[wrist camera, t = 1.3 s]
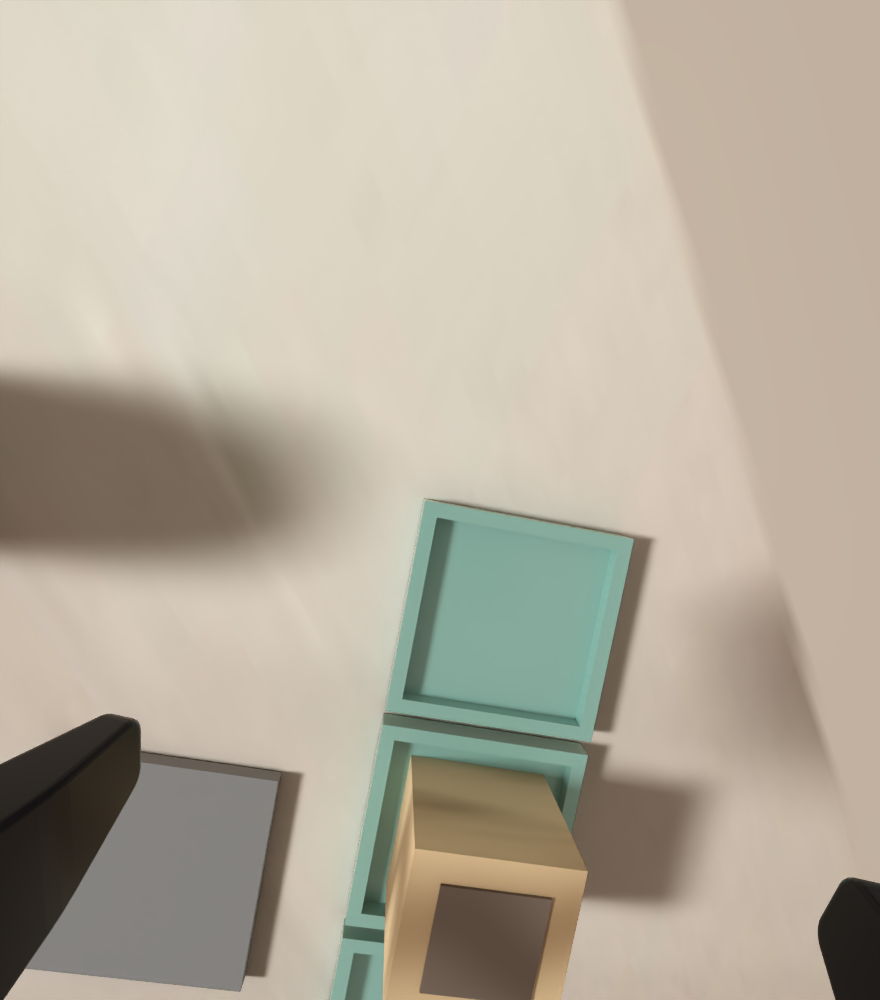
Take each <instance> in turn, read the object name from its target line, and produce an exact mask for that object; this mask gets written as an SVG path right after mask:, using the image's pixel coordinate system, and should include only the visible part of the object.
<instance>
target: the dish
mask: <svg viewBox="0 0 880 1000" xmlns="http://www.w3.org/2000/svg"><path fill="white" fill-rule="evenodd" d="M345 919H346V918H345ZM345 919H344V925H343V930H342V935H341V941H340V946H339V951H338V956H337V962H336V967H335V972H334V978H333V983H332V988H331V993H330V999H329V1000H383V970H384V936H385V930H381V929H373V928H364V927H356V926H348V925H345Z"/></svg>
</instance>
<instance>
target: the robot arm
mask: <svg viewBox="0 0 880 1000" xmlns="http://www.w3.org/2000/svg"><path fill="white" fill-rule="evenodd" d="M140 770H141V729H140V724H139V722H138V721H137V720H135V719H133V718H129V717H124V716H120V715H115V714H105V715H102V716H99V717H97V718H95V719H93V720H91V721H89V722H87V723H85V724H83V725H81V726H79V727H76V728H74V729H72V730H70V731H68V732H66V733H64V734H62V735H60V736H58V737H56V738H54V739H52V740H49V741H47V742H45V743H43V744H41V745H39V746H37V747H35V748H33V749H31V750H29V751H27V752H25V753H22V754H20V755H18V756H16V757H14V758H12V759H10V760H8V761H6V762H4V763H2V764H0V1000H4V998H5V997H6V995H7V994H8V992H9V991H10V990H11V988H12V987H13V985H14V984H15V982H16V981H17V979H18V978H19V977H20V975H21V974H22V972H23V971H24V969H25V968H26V966H27V965H28V964H29V962H30V961H31V959H32V958H33V956H34V955H35V953H36V952H37V951H38V949H39V948H40V946H41V945H42V943H43V942H44V940H45V939H46V937H47V936H48V935H49V933H50V932H51V930H52V928H53V927H54V925H55V924H56V922H57V921H58V919H59V918H60V916H61V915H62V913H63V912H64V910H65V908H66V907H67V905H68V903H69V902H70V900H71V898H72V897H73V895H74V893H75V892H76V890H77V888H78V886H79V885H80V883H81V881H82V879H83V878H84V876H85V874H86V872H87V871H88V869H89V867H90V865H91V864H92V862H93V860H94V858H95V857H96V855H97V853H98V851H99V850H100V848H101V846H102V844H103V843H104V841H105V839H106V837H107V836H108V834H109V832H110V830H111V829H112V827H113V825H114V823H115V822H116V820H117V818H118V816H119V814H120V813H121V811H122V809H123V807H124V806H125V804H126V802H127V800H128V799H129V797H130V795H131V793H132V792H133V790H134V788H135V786H136V784H137V781H138V778H139V775H140ZM818 939H819V945H820V949H821V952H822V956H823V959H824V962H825V966H826V969H827V973H828V976H829V979H830V983H831V986H832V990H833V993H834V996H835V1000H880V884H879V883H875V882H871V881H866V880H862V879H857V878H846V879H844V880H843V881H842V882H841V883H840V884H839V886H838V888H837V890H836V891H835V893H834V895H833V897H832V899H831V900H830V902H829V904H828V906H827V907H826V909H825V911H824V913H823V915H822V916H821V918H820V921H819V925H818Z"/></svg>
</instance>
